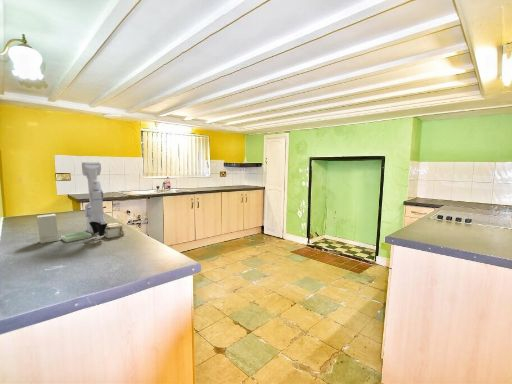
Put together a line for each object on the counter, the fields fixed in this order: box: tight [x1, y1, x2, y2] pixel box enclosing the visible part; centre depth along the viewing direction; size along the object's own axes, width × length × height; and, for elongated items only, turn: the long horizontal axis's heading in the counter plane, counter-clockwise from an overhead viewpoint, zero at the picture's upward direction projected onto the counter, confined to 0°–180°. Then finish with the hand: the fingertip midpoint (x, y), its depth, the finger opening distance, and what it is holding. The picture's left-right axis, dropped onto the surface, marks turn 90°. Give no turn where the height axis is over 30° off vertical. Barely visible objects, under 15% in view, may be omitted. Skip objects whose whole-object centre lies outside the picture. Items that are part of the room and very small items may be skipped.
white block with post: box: [94, 227, 120, 239], centre depth 154 cm, size 6×14×5 cm, turn 142°
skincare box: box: [36, 213, 60, 244], centre depth 144 cm, size 8×6×15 cm
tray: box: [60, 230, 93, 243], centre depth 150 cm, size 10×12×2 cm
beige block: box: [106, 222, 125, 237], centre depth 156 cm, size 9×8×7 cm
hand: (98, 234), depth 150 cm, fingers open, 7 cm apart
